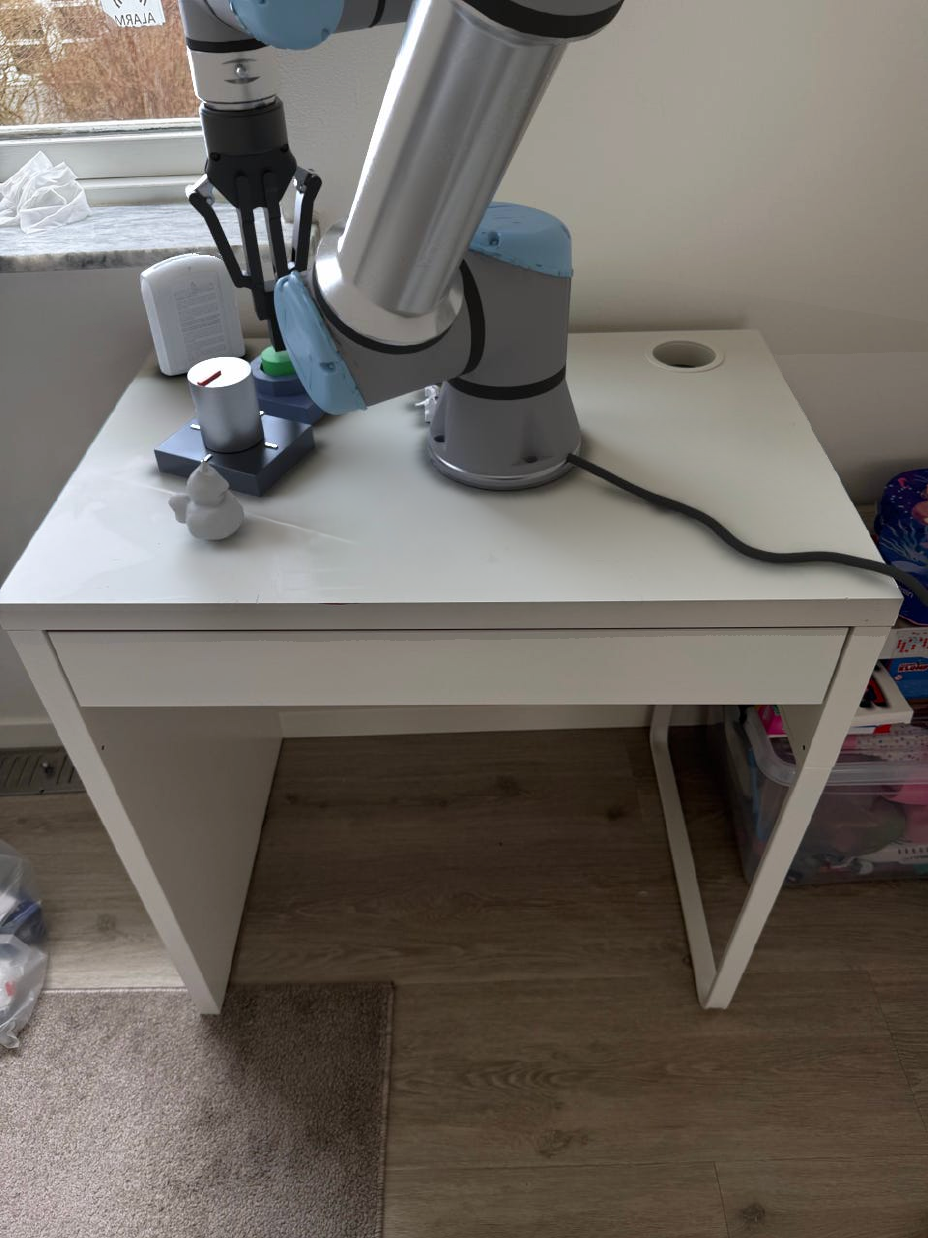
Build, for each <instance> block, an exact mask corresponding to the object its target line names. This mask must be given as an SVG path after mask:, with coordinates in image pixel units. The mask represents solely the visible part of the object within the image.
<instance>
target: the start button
mask: <svg viewBox="0 0 928 1238" xmlns="http://www.w3.org/2000/svg"><path fill="white" fill-rule="evenodd" d="M260 355H261V359H262V365H263V370H264V372H265V374H268V375H273V376H287V375H291V374H294V373H296V371H295V368H294V366H293V364H292V362H291V359H290V357H289V354H288V352H287V350H286V351H280V352H275V350H274V348H273V346H272V345H270V346H268V347H266V348H265V349H263V350H262V351H261V353H260Z"/></svg>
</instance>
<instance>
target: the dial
mask: <svg viewBox="0 0 928 1238" xmlns="http://www.w3.org/2000/svg"><path fill="white" fill-rule="evenodd" d="M186 377H187V381H188V385H189V390H190V394H191V398H192V403H193V407H194V411H195V415H196V416H197V419H198V423H199V428H200V432H201V436H202V440H203V443H204V445H205V446H206V447H207V448H208V449H210V450H213V451H216V452H223V453H231V452H238V451H243V450H246V449H249V448H251V447H253V446H255V445H256V444H258V443H259V442H260V441H261V440H262V438H263V436H264V430H263V424H262V419H261V414H260V408H259V403H258V398H257V392H256V387H255V382H254V377H253V371H252V367H251V365H250V362H248V360H245V359H242V358H240V357H239V358H232V357H222V358H214V359H210V360H206V361H203V362H201V363H199V364H197V365H195V366H194V367H192V368H191V369H190V371H189V372H187V376H186Z"/></svg>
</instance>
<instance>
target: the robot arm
mask: <svg viewBox="0 0 928 1238" xmlns="http://www.w3.org/2000/svg"><path fill="white" fill-rule="evenodd" d="M624 2H625V0H177V3H178V7H179V12H180V13H179V14H180V18H181V23H182V28H183V32H184V36H185V44H186V49H187V56H188V61H189V66H190V72H191V78H192V82H193V88H194V93H195V96H196V98H197V99H199V100H200V101H202V102H201V103H200V105H199V107H198V114H199V119H200V125H201V130H202V134H203V140H204V145H205V151H206V159H205V164H204V167H203V168H204V169H203V171H204V175H203V176H202V177H201V178H200V179H199V180H198V181H197V182H196V183H195V184H188V185H187V186H186V187H185V190H184V193H185V195H186V198H187V200H188V202H189V204H190V205H191V206H192V207H193V208H194V209H195V211H197V213H199V215H201V216H202V218H203V219H204V221H205V224H206V227H207V228H208V230H209V233H210V235H211V237H212V239H213V241H214V244H215V246H216V248H217V250H218V254H219V255H221V257H222V259H223V261H224V264H225V266H226V268H227V270H228V272H229V275H230V277H231V279H232V281H233V286H234V287H236V288H237V289H243V288H245V289H249V290H250V292H251V297H252V302H253V303H252V304H253V308H254V313H255V315H256V317H257V318H258V320H259V321H261V322H262V321H266V323H267V329H268V336H269V340H270V344H271V346H273V348H274V350H275V352H280V351H286V350H287V352H288V354H289V357H290V359H291V362H292V364H293V366H294V368H295V371H296V373H297V375H298V377H299V379H300V381H301V382H302V384H303V386H304V388H305V389H306V391H307V392H308V394H309V395H310V397H311V398H312V400H313V401H314V402H315V403H316V404H317V405H318V406H319V407H320V408H321V409H322V410H324V411H325V412H326V413H327V414H330V415H335V416H338V415H344V414H348V413H353V412H357V411H366V410H367V411H368V408H369V407H372V406H375V405H378V404H381V403H383V402H387V401H390V400H393V399H396V398H398V397H402V396H404V395H407V394H410V393H414V392H416V391H419V390H423V389H425V387H428V386H431V385H437V384H440V383H442V384H441V387H440V389H439V396H437V399H436V400H437V403H436V406H435V410H434V413H433V416H432V419H431V422H430V423H429V427H428V433H427V447H428V456H429V458H430V461H431V462H432V464H433V466H434V467H435V468H436V469H437V470H438V471H439V472H440V473H442V474H443V475H444V476H445V477H448V478H450V479H452V480H454V481H456V482H457V483H461V484H463V485H467V486H470V487H474V488H479V489H485V490H495V491H514V490H522V489H528V488H533V487H538V486H542V485H544V484H547V483H550V482H552V481H555V480H557V479H559V478H560V477H562V476H563V475H565V474H567V473H568V472H569V471H570V470H571V469H572V468H573V467H574V466H575V467H578V468H580V469H582V470H584V471H585V472H587V473H590V474H592V475H593V476H596V477H598V478H600V479H602V480H604V481H606V482H608V483H610V484H611V485H614V486H615V487H617V488H620V489H622V490H623V491H625V492H627V493H629V494H630V495H633V496H636V497H638V498H640V499H642V500H645V501H647V502H649V503H653V504H654V505H657V506H660V507H664V508H667V509H669V510H672V511H675V512H678V513H679V514H683V515H685V516H687V517H689V518H691V519H694V520H696V521H698V522H700V523H701V524H703V525H704V526H706V527H708V529H710V530H711V531H712V532H714V534H716V535H717V537H719V538H720V539H721V540H722V541H723V542H724V543H725V544H727V545H728V546H729V547H730V548H732V549H733V550H735V551H736V552H738V553H739V554H741V555H744V556H746V557H749V558H751V559H754V560H757V561H761V562H766V563H771V564H799V563H813V562H814V563H815V562H816V563H818V562H819V563H820V562H821V563H822V562H823V563H825V562H826V563H835V564H841V565H845V566H850V567H854V568H857V569H861V570H862V569H863V570H868V571H871V572H874V573H878V574H881V575H884V576H887V577H889V578H892V579H894V580H896V581H898V582H899V583H901V584H903V585H904V586H906V587H907V588H908V589H909V590H911V592H912V593H914V595H915V596H916V597H917V598H918V599H919V601H920V602H921V604H922V605H924V606H925V607H926V608H928V589H927V588H926V587H925V586H924V585H923V584H922V583H921V582H920V581H919V580H918V579H917V578H915V576H913V575H911V574H910V573H908V572H906V571H905V570H903V569H901V568H899V567H896V566H895V565H891V564H888V563H885V562H882V561H877V560H874V559H870V558H865V557H860V556H855V555H850V554H847V553H841V552H837V551H836V552H835V551H824V550H823V551H822V550H819V551H817V550H815V551H800V552H799V551H798V552H772V551H767V550H764V549H763V550H762V549H759V548H756V547H753V546H751V545H749V544H747V543H745V542H744V541H742V540H740V539H739V538H738V537H736V536H735V535H733V533H731V532H730V531H729V530H728V529H727V528H726V527H725V526H724V525H723V524H721V523H720V522H719V521H717V519H715V518H714V517H712V516H711V515H709V514H707V513H705V512H704V511H702V510H699V509H698V508H696V507H694V506H690V505H689V504H686V503H683V502H680V501H678V500H675V499H672V498H669V497H666V496H663V495H661V494H658V493H655V492H652V491H650V490H648V489H645V488H643V487H641V486H639V485H637V484H634V483H633V482H630V481H628V480H627V479H625V478H623V477H621V476H619V475H617V474H615V473H613V472H611V471H609V470H606V469H605V468H604V467H601V466H599V465H597V464H595V463H593V462H590V461H589V460H587V459H584V458H582V457H580V453H581V444H582V442H581V441H582V432H581V427H580V422H579V419H578V415H577V413H576V408H575V406H574V405H575V404H574V402H573V399H572V396H571V393H570V389H569V386H568V383H567V378H566V377H567V360H568V359H567V357H568V342H569V341H568V339H569V322H570V321H569V320H570V307H571V293H572V292H571V291H572V279H573V278H574V268H573V255H572V252H573V251H572V249H573V247H572V243H573V242H572V236H571V232H570V230H569V228H568V227H567V225H566V224H565V223H564V222H563V221H562V220H561V219H559V217H556V216H555V215H553V214H551V213H549V212H547V211H544V210H542V209H539V208H535V207H532V206H528V205H524V204H519V203H513V202H506V201H493V199H494V197H495V195H496V193H497V191H498V189H499V187H500V185H501V183H502V181H503V179H504V177H505V175H506V173H507V170H508V169H509V167H510V165H511V163H512V161H513V159H514V156H515V155H516V153H517V152H518V151H517V150H518V149H519V147H520V144H521V142H522V140H523V139H524V136H525V134H526V132H527V131H528V129H529V126H530V124H531V122H532V120H533V118H534V116H535V115H536V113H537V110H538V108H539V106H540V104H541V102H542V100H543V98H544V96H545V94H546V92H547V90H548V88H549V86H550V84H551V82H552V80H553V78H554V76H555V73H556V71H557V70H558V67H559V66H560V63H561V61H562V60H563V57H564V55H565V53H566V51H567V49H568V47H569V45H570V43H576V42H581V41H584V40H587V39H590V38H592V37H594V36H596V35H598V34H600V32H602V31H603V30H605V29H606V28H607V27H608V26H609V25H610V24H611V23H612V22H613V21H614V20H615V18H616V17H617V15H618V13H619V11H620V10H621V8H622V6H623V4H624ZM402 23H403V24H404V23H405V26H404V30H403V33H402V35H401V39H400V42H399V47H398V50H397V53H396V56H395V60H394V63H393V66H392V69H391V73H390V76H389V79H388V83H387V86H386V90H385V92H384V93H385V94H384V96H383V100H382V103H381V107H380V110H379V113H378V117H377V120H376V124H375V127H374V131H373V133H372V138H371V141H370V144H369V147H368V151H367V155H366V157H365V161H364V164H363V168H362V170H361V174H360V177H359V181H358V184H357V188H356V191H355V194H354V199H353V202H352V204H351V208H350V212H349V215H346V216H344V217H343V218H341V219H339V220H338V221H336V222H335V223H334V224H333V225H332V226H331V227H330V228H328V230H327V231H326V232H325V234H324V235H323V237H322V238H321V240H320V242H319V245H318V246H317V251H316V253H315V254H316V255H315V259H314V261H313V265H312V267H311V268H309V269H308V265H309V264H308V263H309V256H310V255H309V254H310V247H311V246H310V245H311V235H312V225H313V215H314V206H315V201H316V199H317V197H318V195H319V192H320V190H321V188H322V185H323V180H322V178H321V177H320V175H319V174H318V173H317V172H316V171H315V170H314V169H313V168H306V167H304V166H302V165H300V164H298V162H297V159H296V157H295V155H294V154H293V152H292V150H291V148H290V144H289V136H288V129H287V122H286V115H285V107H284V101H282V99H281V98H280V97H279V96H278V94H279V93H280V92H281V90H282V86H281V77H280V70H279V64H278V59H277V51H276V49H280V50H292V51H307V50H311V49H313V48H317V47H318V46H320V45H321V44H322V43H324V42H325V41H326V40H327V39H328V38H329V37H330V36H331V35H334V34H341V33H347V32H353V31H354V32H355V31H361V30H366V29H373V28H374V27H378V26H386V25H395V24H402ZM293 179H294V181H293V186H294V188H295V189H296V192H295V200H294V201H295V202H294V211H293V212H294V213H293V223H292V225H293V226H292V234H291V235H292V236H291V247H290V257H289V262H288V257H287V250H286V249H287V248H286V244H285V243H286V242H285V236H284V229H283V223H282V211H281V205H280V202H281V201H282V200H283V198H284V197H285V194H286V192H287V190H288V188H289V186H290V184H291V183H292V180H293ZM214 188H215V190H217V191H218V193H220V195H221V196H222V197H224V198H225V200H226V201H228V203H229V204H230V205H231V206H232V207H234V208H235V212H236V216H237V222H238V226H239V227H238V228H239V233H240V239H241V243H242V248H243V254H244V261H245V266H246V270H243V269H241V266H240V264H239V263H238V261H237V258H236V255H235V252H234V251H233V249H232V246H231V244H230V242H229V239H228V238H227V235H226V233H225V230H224V228H223V226H222V224H221V222H220V219H219V217H218V215H217V213H216V211H215V209H214V207H213V205H214V204H215V201H216V198H215V196H214V194H213V189H214ZM258 208H262V212H263V217H264V223H265V229H266V237H267V242H268V247H269V253H270V254H269V255H270V260H271V266H272V273H273V276H274V279H270V280H265V278H264V273H263V266H262V260H261V254H260V248H259V242H258V235H257V229H256V224H255V223H256V219H255V212H254V210H256V209H258Z"/></svg>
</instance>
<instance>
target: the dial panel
mask: <svg viewBox="0 0 928 1238" xmlns="http://www.w3.org/2000/svg"><path fill="white" fill-rule="evenodd" d="M260 414H261V419H262V424H263V430H264V436H263V438H262V440H261V441H260V442H259V443H258V444H256V445H255V446H253V447H251V448H249V449H246V450H243V451H238V452H231V453H223V452H216V451H213V450H210V449H208V448H207V447H206V446H205V445H204V443H203V440H202V436H201V432H200V428H199V423H198V419H197V415H196V416H194V418H192V419H191V420H190V421H188V422H187V423H186V424H184V425H183V426H182V427H181V428H179V429H178V430H176V431H175V432H174V433H173V434H172V435H170V436H169V437H168V438H166V440H164V441H163V442H161V443H160V444H159V445H157V446H156V447H155V448H154V449H153V453H154V457H155V460H156V464H157V467H158V470H159V472H163V473H166V474H170V475H175V476H178V477H180V478H185V479H187V480H188V479H189V477H190V475H191V474H192V473H193V472H194V471H195V470H196V469H197V468H198V467H199V466H200V465H201V463H202V460H203V458H204V459H205V462H206V463H207V464H209V465H210V466H211V467H213V468H214V469H215V470H216V471H217V472H218V473H219V474H220V475H221V476H222V477H223V478H224V479H225V480H226V481H227V482H228V484H229V488H228V490H229V491H234V492H238V493H242V494H245V495H248V496H253V497H257V498H261V497H262V496H264V494H266V493H267V492H268V491H269V490H270V489H271V488H272V487H273V486H274V485H275V484H276V483H277V482H278V481H280V480H281V479H282V478H283V477H284V476H285V475H286V474H287V473H288V472H289V471H290V470H291V469H292V468H293V467H294V466H296V465H297V464H298V463H299V462H300V461H301V460H302V459H303V458H304V457H305V456H306V455H308V453H309V452H311V450H313V449H314V448H315V438H314V431H313V425H308V424H304V423H299V422H295V421H291V420H286V419H282V418H278V417H274V416H269V415H265V414H264V412H262V411H261V412H260Z"/></svg>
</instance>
